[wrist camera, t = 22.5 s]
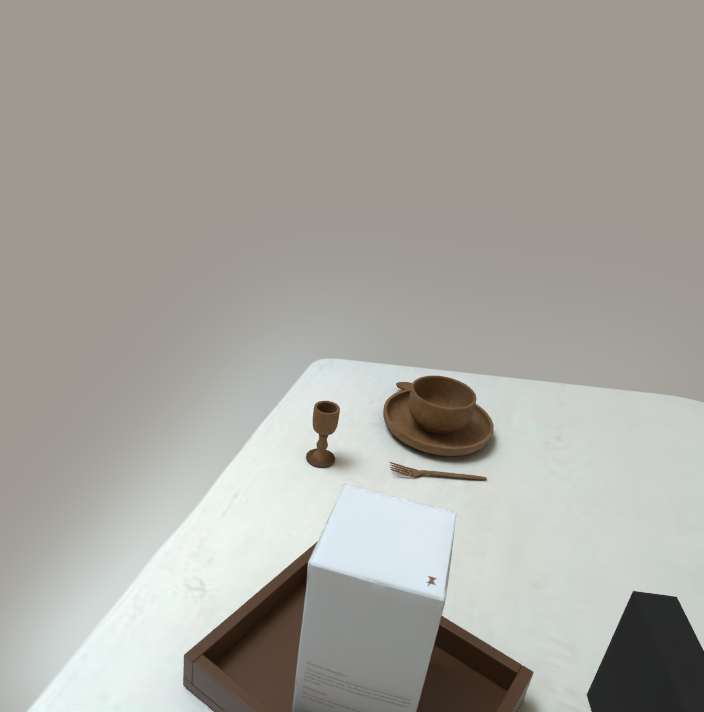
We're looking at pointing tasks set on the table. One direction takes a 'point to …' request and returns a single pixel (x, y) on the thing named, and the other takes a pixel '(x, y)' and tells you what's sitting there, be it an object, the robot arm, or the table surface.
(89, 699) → the table surface
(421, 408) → the place setting
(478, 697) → the tray
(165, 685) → the table surface
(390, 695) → the white packaging box
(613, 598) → the table surface
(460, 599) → the table surface
